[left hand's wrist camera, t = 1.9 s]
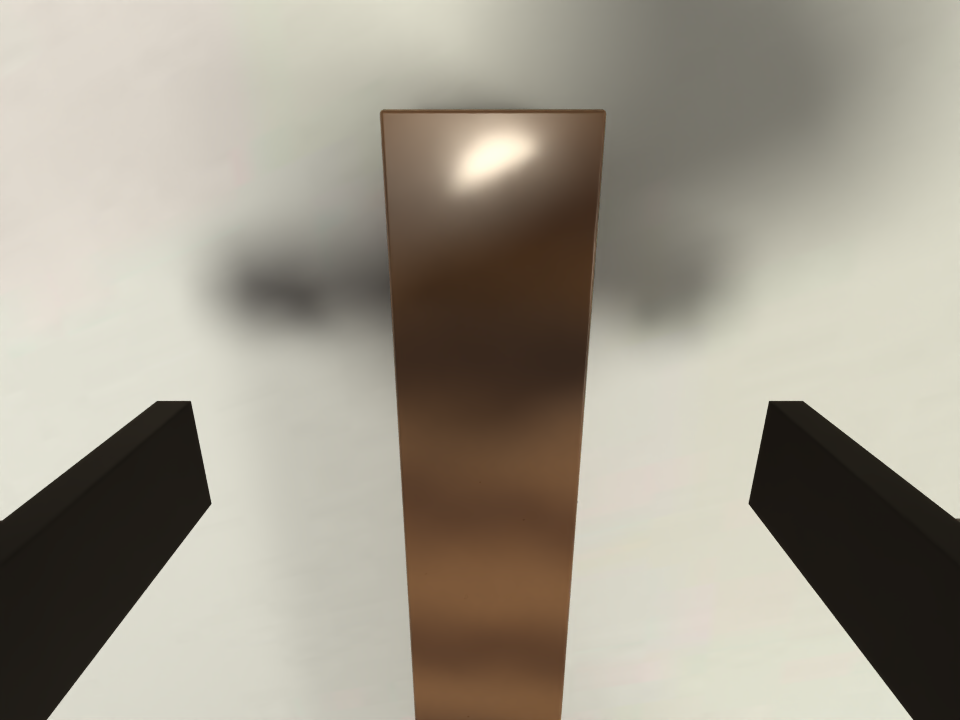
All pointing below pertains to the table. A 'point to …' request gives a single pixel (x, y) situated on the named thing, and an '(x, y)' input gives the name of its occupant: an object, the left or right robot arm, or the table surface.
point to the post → (490, 392)
